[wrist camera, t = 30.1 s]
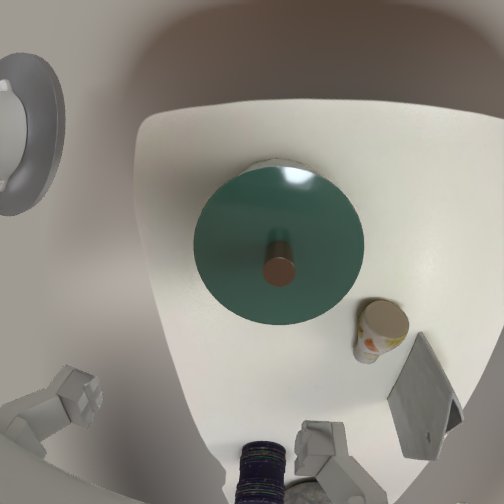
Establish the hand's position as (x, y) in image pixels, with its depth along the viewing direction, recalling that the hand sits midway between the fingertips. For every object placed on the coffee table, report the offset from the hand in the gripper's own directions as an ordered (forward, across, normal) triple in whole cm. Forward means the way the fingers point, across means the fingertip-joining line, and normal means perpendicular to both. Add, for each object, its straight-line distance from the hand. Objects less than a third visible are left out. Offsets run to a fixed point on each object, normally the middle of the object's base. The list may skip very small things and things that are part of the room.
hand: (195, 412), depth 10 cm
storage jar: (+29, -10, +52) cm, 61 cm away
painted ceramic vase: (+29, -20, +14) cm, 38 cm away
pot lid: (+17, -3, 0) cm, 17 cm away
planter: (+29, -33, +22) cm, 49 cm away
